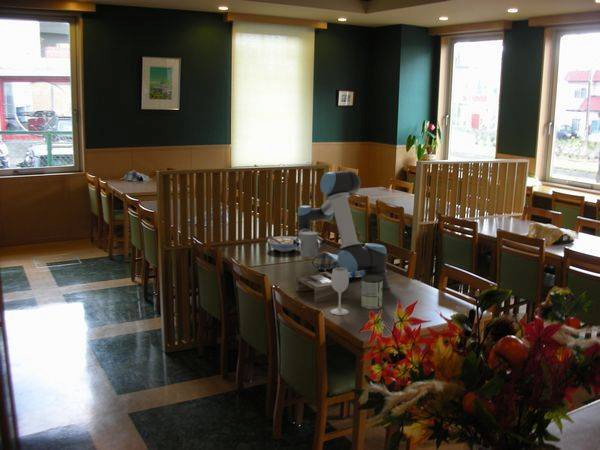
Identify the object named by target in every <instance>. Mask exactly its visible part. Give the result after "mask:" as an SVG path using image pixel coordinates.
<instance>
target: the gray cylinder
mask: <svg viewBox="0 0 600 450" xmlns="http://www.w3.org/2000/svg"><path fill="white" fill-rule="evenodd" d="M318 236H319V232H318V231H315V230H311V231H304V232H301V233H300V241H301V248H300V257H302V258H303V257H304V258H315V257H318V256H319V247H318Z"/></svg>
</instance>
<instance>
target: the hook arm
mask: <svg viewBox="0 0 600 450" xmlns="http://www.w3.org/2000/svg"><path fill="white" fill-rule="evenodd" d="M310 280H311V281H313V282H315V283H317V284H321V283H328V282H331V280H329V279H327V278H325V277H324V276H322V275H316V276H310Z"/></svg>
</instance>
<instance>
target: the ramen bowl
mask: <svg viewBox="0 0 600 450" xmlns="http://www.w3.org/2000/svg"><path fill="white" fill-rule="evenodd" d="M266 238H268V239H267V242H268V244H269V245H270V247H271V248H272V249H273V250H276V251H278V252H281V253H289V252H291V251H293V250H296V249H297V248H298V247H299V246H297V244H295V245H293V240H294V238H295V236H284V235H283V236H274V237H273V236H271V235H267V236H266Z"/></svg>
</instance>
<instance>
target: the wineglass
mask: <svg viewBox="0 0 600 450" xmlns="http://www.w3.org/2000/svg"><path fill="white" fill-rule="evenodd" d="M331 274H332V277H331V284H332V287H333V289H334V290H335V291H337V292H338V294H339V299H338V307H337V308H333V309H331V310H330V311H329V312H330V314H332V315H334V314H335V315H336V316H345V315H348V314H349V313H350V312H349V310H348V309H345V308H342V302H341V301H342V298H341V293H342V292H343V291H345V290H346V289H347V287H348V288H349V282H350V279H349V278H350V277H349V272H348V271H347V269H346V268H342V267H340V266H339V267H334V268H332V273H331Z"/></svg>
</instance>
